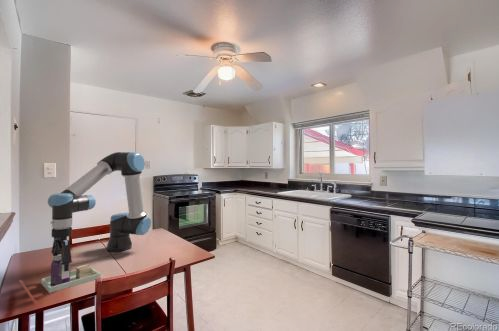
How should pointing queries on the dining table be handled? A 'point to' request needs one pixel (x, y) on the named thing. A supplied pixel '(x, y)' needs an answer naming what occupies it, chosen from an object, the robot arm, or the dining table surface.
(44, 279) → the pale green tray
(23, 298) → the dining table surface
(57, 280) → the beverage can
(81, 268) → the oak block
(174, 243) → the dining table surface
